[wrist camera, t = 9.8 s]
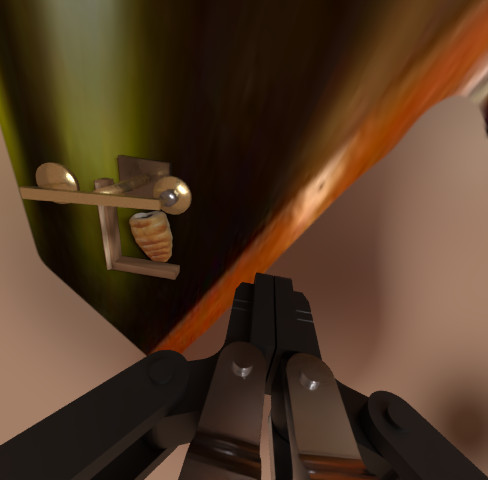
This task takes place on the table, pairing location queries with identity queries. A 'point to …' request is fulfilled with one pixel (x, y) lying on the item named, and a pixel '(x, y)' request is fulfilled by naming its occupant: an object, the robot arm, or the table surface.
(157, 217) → the pastry
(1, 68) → the table surface
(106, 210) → the rail
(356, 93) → the table surface
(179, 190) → the balance
